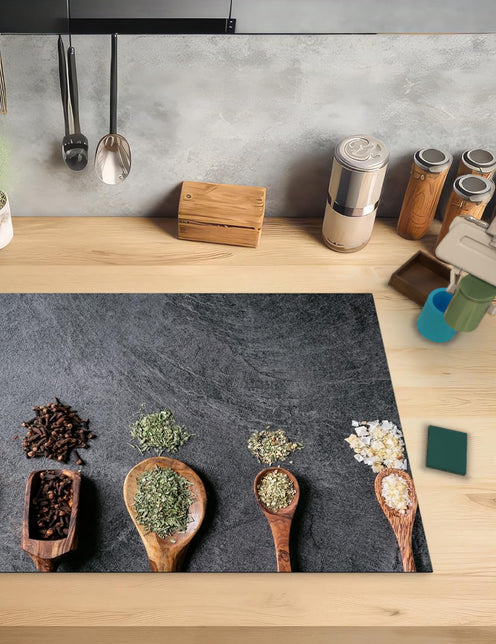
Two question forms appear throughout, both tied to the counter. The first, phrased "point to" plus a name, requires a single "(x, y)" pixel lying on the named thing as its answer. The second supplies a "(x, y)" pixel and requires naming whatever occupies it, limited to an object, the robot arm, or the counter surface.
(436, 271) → the tray
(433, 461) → the mat
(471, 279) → the green pot
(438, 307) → the mug
